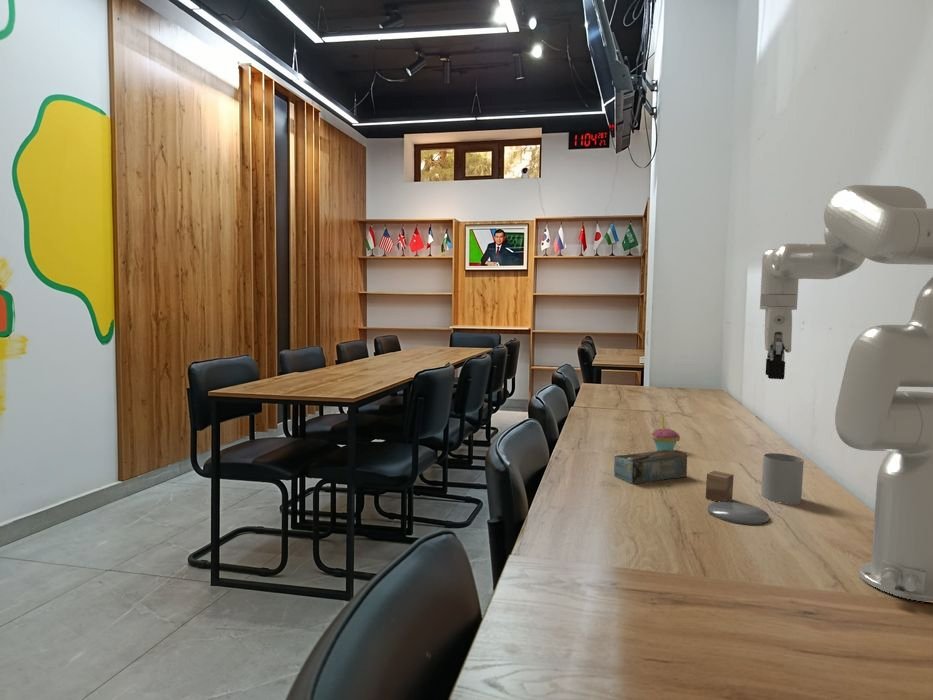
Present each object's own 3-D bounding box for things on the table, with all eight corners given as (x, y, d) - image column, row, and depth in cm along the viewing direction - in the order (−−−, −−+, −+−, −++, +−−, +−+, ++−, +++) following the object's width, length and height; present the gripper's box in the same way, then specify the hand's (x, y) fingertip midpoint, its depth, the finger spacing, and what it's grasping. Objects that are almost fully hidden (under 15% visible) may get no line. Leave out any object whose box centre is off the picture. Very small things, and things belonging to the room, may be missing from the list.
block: (725, 503, 131) (726, 478, 130) (705, 498, 134) (706, 473, 133) (732, 499, 134) (733, 474, 133) (713, 494, 137) (714, 470, 137)
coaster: (757, 529, 115) (757, 525, 115) (698, 513, 123) (699, 510, 123) (776, 515, 123) (776, 511, 123) (720, 501, 132) (720, 498, 132)
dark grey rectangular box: (611, 476, 151) (612, 452, 151) (666, 470, 159) (668, 447, 158) (631, 485, 144) (632, 459, 143) (688, 478, 152) (689, 454, 151)
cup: (806, 505, 130) (809, 463, 130) (767, 502, 132) (770, 460, 131) (793, 494, 139) (795, 454, 138) (756, 491, 140) (759, 452, 140)
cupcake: (645, 448, 184) (647, 412, 183) (665, 446, 187) (666, 410, 187) (664, 454, 176) (666, 416, 175) (685, 452, 180) (686, 415, 179)
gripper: (801, 301, 120) (797, 381, 121) (793, 304, 136) (789, 375, 137) (761, 301, 123) (757, 379, 124) (758, 304, 139) (754, 373, 140)
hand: (774, 377), depth 131 cm, fingers open, 9 cm apart
